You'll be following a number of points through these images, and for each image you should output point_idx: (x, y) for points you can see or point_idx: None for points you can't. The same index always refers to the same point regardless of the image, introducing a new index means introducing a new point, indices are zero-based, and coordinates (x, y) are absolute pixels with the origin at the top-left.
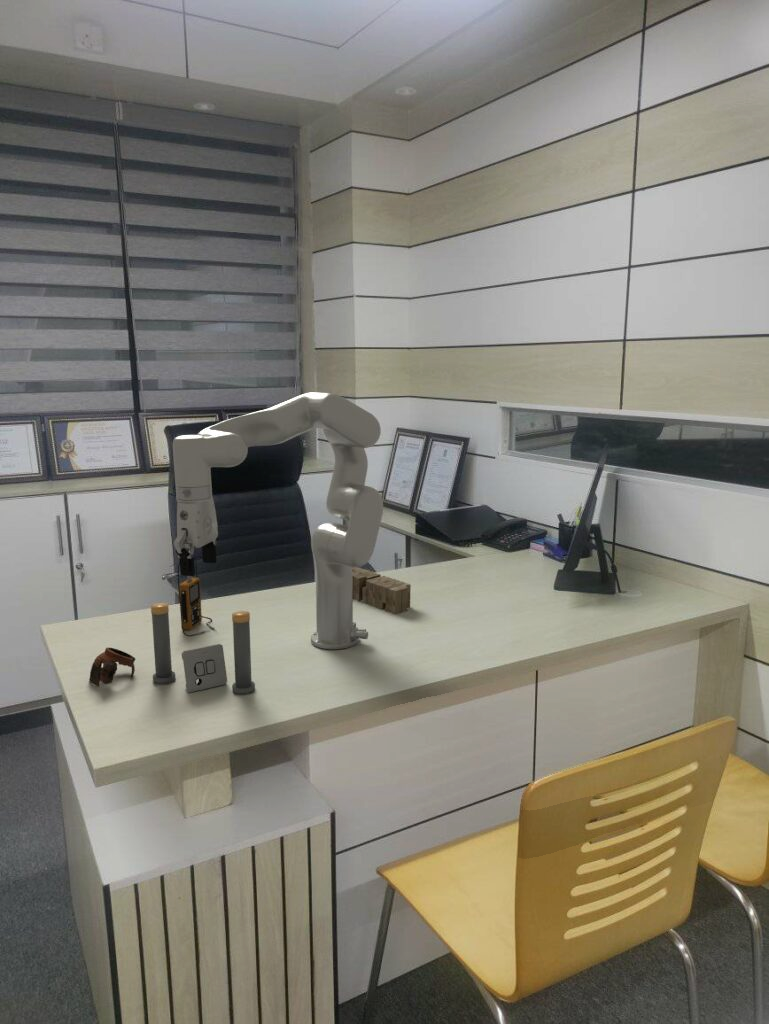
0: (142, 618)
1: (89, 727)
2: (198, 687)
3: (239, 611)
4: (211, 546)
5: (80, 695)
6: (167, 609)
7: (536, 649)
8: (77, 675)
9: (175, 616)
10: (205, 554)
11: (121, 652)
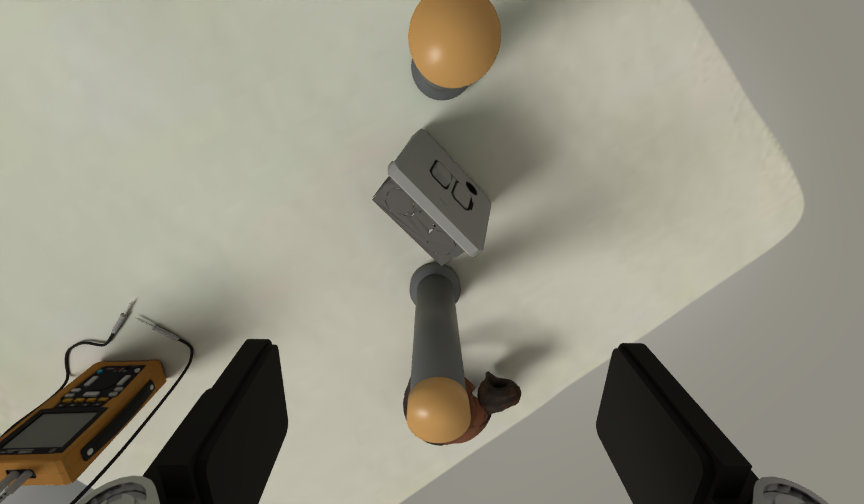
0: None
1: (661, 313)
2: (473, 184)
3: (420, 63)
4: (199, 493)
5: (536, 395)
6: (437, 384)
7: None
8: (456, 443)
9: None
10: (259, 464)
11: None
